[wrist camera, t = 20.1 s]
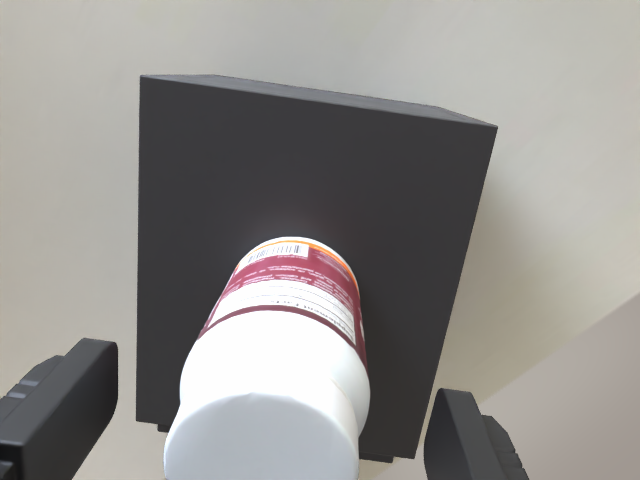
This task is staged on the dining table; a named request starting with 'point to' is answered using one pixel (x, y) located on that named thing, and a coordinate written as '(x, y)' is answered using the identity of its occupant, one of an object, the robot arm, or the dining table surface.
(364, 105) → the cabinet
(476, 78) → the dining table surface
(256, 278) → the pill bottle
